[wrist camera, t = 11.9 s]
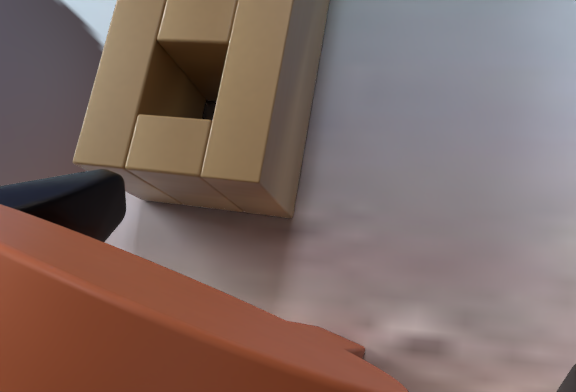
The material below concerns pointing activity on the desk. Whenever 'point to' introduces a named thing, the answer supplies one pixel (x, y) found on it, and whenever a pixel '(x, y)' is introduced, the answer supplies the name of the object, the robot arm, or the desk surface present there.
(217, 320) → the orange piece
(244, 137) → the utensil rack
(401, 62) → the desk surface
